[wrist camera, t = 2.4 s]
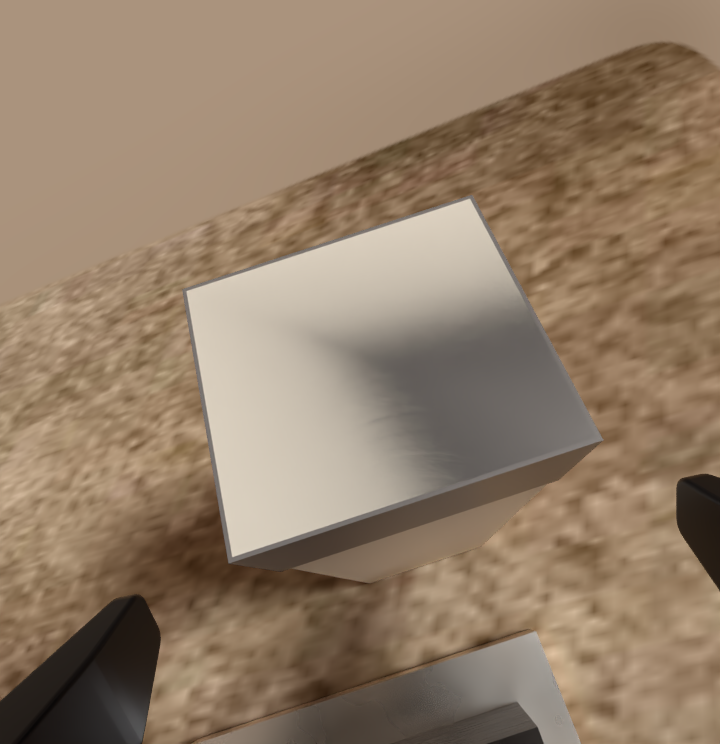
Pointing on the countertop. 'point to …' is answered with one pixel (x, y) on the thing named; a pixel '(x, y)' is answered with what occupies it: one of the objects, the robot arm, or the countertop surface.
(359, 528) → the plug block
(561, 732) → the socket plate
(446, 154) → the countertop surface
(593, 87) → the countertop surface
